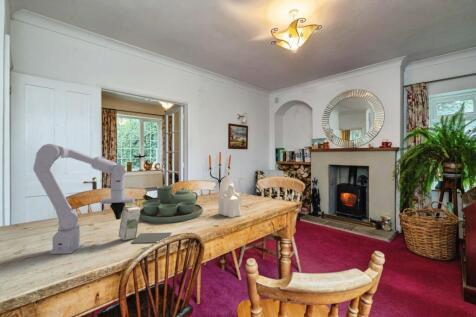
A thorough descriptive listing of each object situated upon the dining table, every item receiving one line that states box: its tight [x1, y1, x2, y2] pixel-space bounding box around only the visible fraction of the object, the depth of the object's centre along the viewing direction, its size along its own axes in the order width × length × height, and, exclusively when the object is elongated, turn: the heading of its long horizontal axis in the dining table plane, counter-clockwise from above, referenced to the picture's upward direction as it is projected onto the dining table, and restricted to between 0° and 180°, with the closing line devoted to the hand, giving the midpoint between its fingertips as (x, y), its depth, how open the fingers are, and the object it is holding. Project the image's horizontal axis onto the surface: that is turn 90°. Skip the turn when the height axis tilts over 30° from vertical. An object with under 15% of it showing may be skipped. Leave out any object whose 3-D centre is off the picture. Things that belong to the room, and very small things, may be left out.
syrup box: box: [118, 205, 141, 241], centre depth 108 cm, size 6×6×14 cm
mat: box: [130, 232, 172, 245], centre depth 109 cm, size 12×15×1 cm
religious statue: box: [217, 167, 251, 218], centre depth 150 cm, size 17×14×30 cm
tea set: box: [139, 185, 204, 224], centre depth 151 cm, size 40×40×16 cm
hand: (118, 218), depth 107 cm, fingers closed
